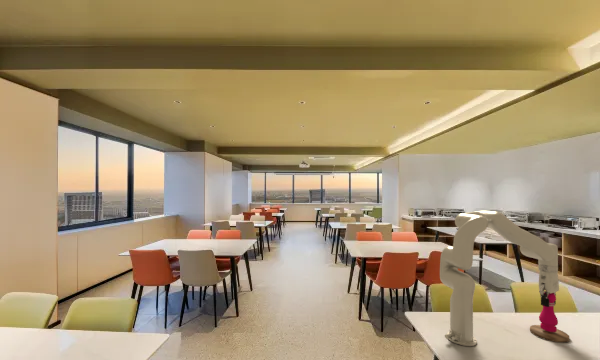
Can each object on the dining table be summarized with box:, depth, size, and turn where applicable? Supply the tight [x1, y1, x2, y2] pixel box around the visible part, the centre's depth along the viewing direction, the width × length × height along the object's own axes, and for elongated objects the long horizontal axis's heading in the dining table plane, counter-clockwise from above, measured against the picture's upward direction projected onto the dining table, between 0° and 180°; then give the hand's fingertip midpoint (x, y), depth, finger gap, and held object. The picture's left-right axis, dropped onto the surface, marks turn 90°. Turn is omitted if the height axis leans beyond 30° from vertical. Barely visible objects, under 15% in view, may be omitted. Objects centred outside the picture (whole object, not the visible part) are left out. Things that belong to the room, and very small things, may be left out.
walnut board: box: [529, 324, 570, 344], centre depth 147 cm, size 15×15×2 cm
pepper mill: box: [538, 290, 559, 332], centre depth 148 cm, size 7×7×20 cm
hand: (548, 304), depth 148 cm, fingers closed on pepper mill, 6 cm apart
